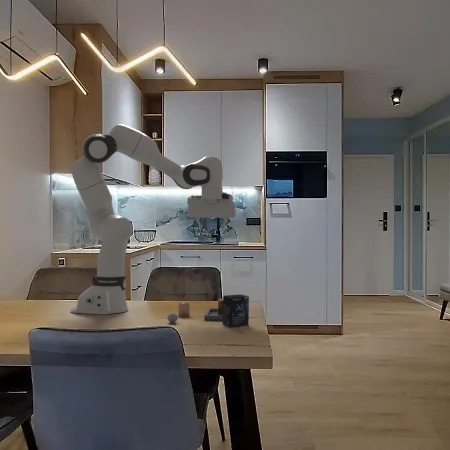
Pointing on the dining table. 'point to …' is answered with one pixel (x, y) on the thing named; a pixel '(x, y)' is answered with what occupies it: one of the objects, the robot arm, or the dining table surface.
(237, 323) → the box
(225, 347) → the dining table surface
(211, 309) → the slate tray
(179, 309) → the wooden block
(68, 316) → the dining table surface
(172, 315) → the grey ball
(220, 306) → the walnut cube
